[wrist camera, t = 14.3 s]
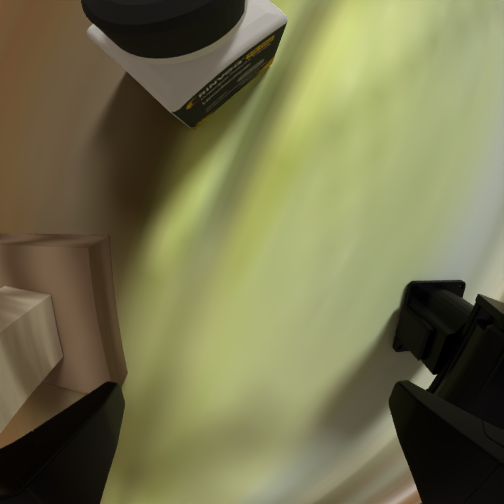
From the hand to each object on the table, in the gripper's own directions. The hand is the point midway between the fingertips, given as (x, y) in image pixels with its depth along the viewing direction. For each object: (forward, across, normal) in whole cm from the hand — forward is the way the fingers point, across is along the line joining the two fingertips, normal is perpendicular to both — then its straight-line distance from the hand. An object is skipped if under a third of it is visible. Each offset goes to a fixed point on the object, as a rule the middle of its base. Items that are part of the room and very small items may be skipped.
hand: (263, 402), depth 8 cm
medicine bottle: (+13, +4, -14) cm, 20 cm away
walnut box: (+14, +16, +4) cm, 21 cm away
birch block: (+9, +16, +4) cm, 19 cm away
